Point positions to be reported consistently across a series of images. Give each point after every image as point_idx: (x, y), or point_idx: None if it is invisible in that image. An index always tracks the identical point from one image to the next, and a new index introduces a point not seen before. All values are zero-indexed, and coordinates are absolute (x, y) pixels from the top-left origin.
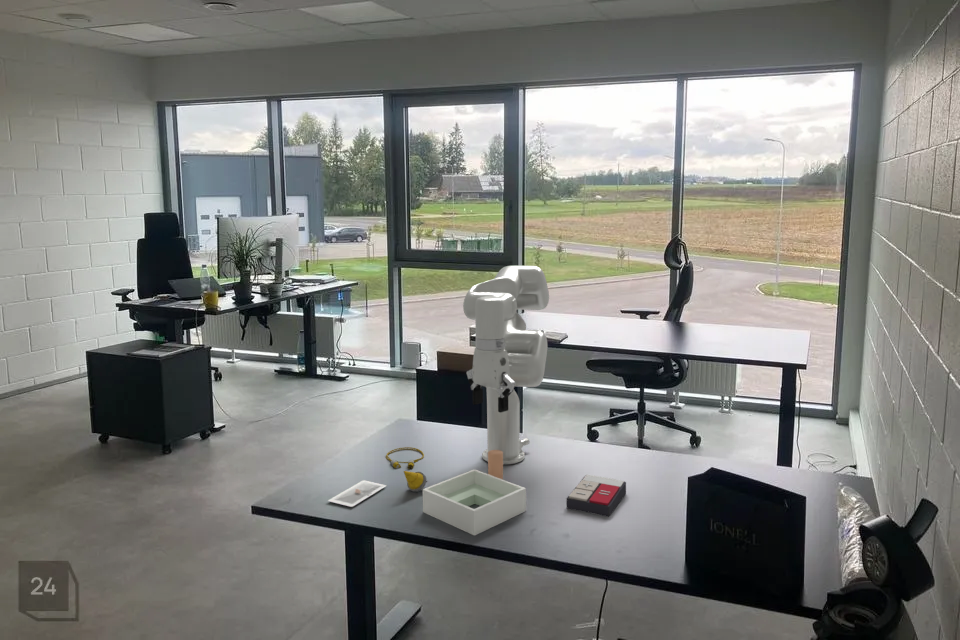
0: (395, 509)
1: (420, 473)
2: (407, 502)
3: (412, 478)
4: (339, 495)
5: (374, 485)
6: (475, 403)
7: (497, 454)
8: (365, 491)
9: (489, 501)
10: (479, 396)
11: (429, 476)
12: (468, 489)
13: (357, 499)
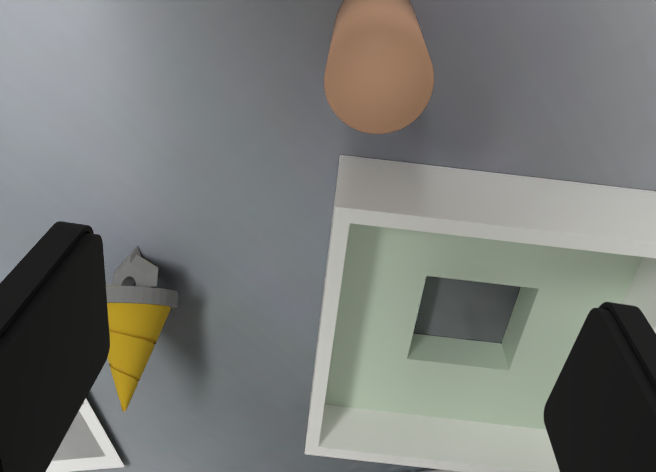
0: (225, 408)
1: (121, 302)
2: (211, 361)
3: (148, 357)
4: None
5: None
6: (102, 351)
7: (413, 105)
8: None
9: (516, 284)
10: (57, 354)
11: (57, 149)
12: (372, 253)
13: (86, 433)
